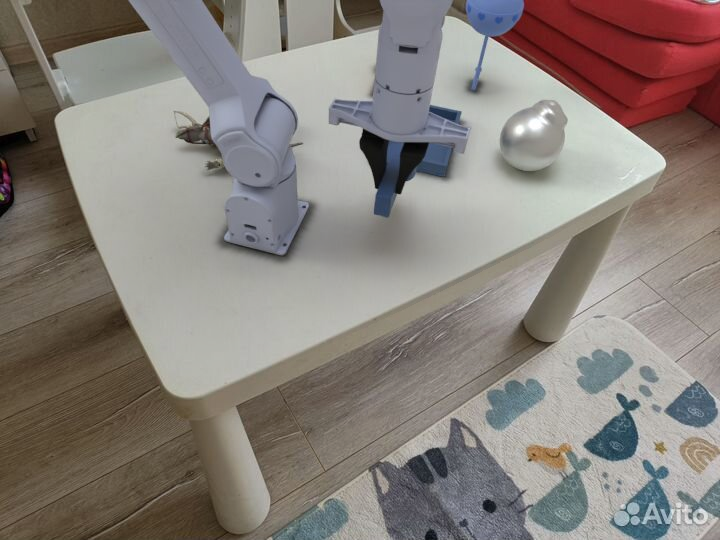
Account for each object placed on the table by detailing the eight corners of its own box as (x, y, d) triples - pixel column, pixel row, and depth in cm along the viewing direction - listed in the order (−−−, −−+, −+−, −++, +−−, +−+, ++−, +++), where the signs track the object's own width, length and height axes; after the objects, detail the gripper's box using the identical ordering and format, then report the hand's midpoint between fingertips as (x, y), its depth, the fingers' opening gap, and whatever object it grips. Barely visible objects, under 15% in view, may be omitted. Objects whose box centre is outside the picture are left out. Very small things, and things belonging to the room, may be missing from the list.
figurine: (146, 137, 68) (186, 71, 78) (159, 174, 72) (196, 107, 83) (297, 145, 66) (317, 77, 77) (301, 182, 71) (319, 113, 82)
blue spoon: (399, 220, 59) (402, 201, 56) (362, 211, 59) (363, 192, 57) (418, 163, 65) (422, 144, 63) (385, 156, 66) (387, 136, 64)
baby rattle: (494, 106, 86) (528, -6, 72) (444, 95, 88) (467, -18, 74) (501, 81, 92) (534, -29, 78) (454, 70, 93) (477, -39, 79)
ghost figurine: (565, 182, 75) (593, 123, 67) (503, 185, 74) (524, 125, 66) (543, 143, 81) (566, 85, 73) (484, 146, 79) (502, 86, 72)
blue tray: (444, 177, 74) (446, 166, 73) (375, 161, 75) (376, 150, 74) (459, 122, 83) (461, 111, 81) (397, 109, 84) (398, 98, 83)
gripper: (485, 72, 51) (457, 178, 61) (344, 44, 53) (340, 151, 63) (475, 111, 47) (446, 218, 57) (322, 78, 49) (321, 188, 59)
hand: (389, 186), depth 60 cm, fingers closed on blue spoon, 2 cm apart
